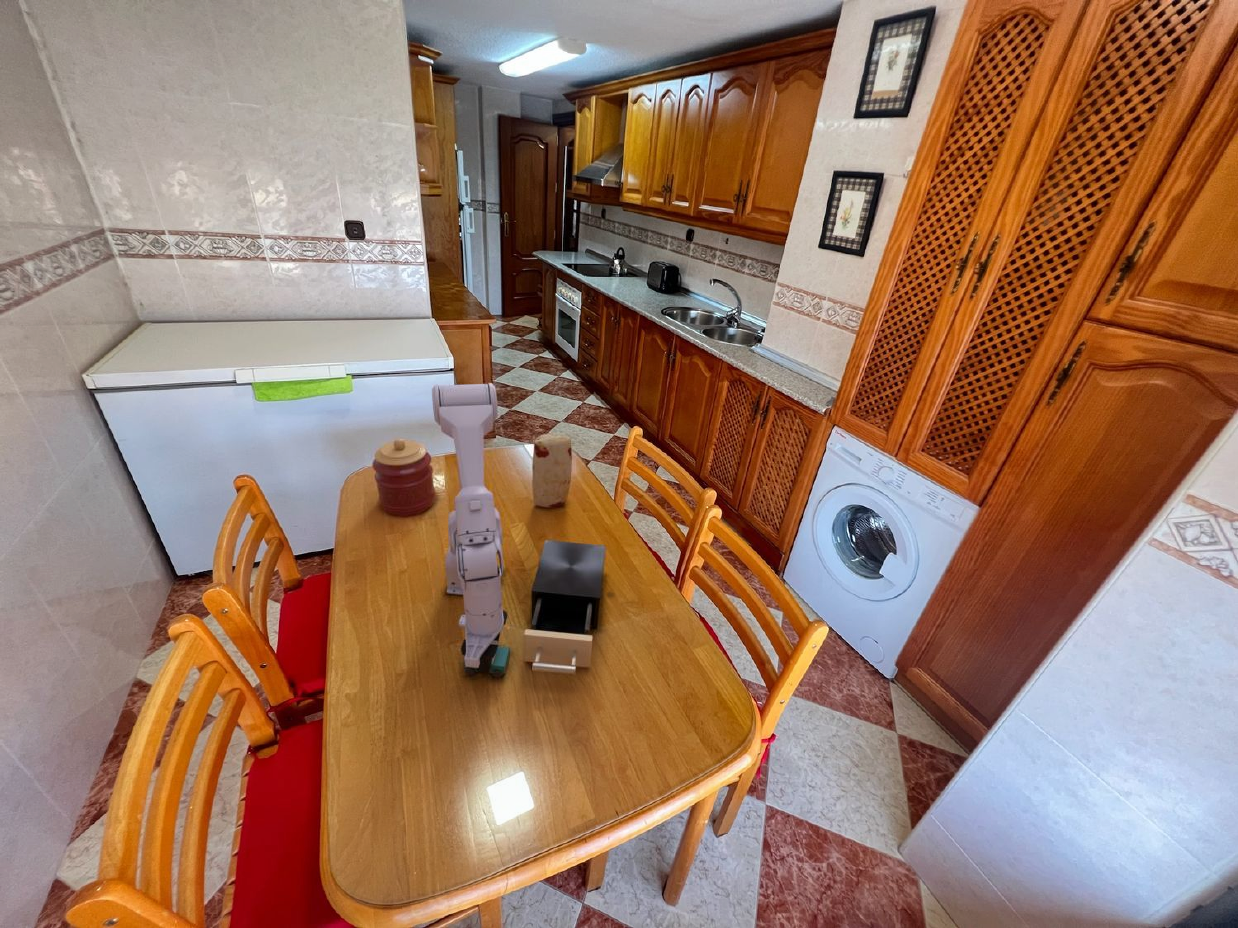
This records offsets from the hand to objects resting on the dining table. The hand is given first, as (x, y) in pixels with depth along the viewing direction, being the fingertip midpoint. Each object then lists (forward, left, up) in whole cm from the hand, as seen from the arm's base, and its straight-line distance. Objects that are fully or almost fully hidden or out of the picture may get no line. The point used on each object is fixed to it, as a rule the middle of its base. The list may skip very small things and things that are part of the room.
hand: (487, 658), depth 85 cm
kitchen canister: (-32, +44, -2) cm, 54 cm away
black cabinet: (+12, +17, -2) cm, 21 cm away
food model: (+3, +49, -2) cm, 49 cm away
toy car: (0, 0, -1) cm, 1 cm away
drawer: (+12, +5, -1) cm, 13 cm away
